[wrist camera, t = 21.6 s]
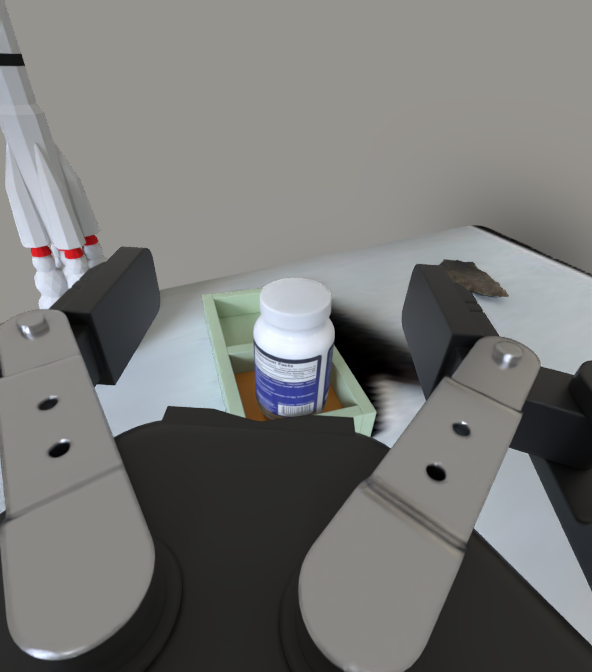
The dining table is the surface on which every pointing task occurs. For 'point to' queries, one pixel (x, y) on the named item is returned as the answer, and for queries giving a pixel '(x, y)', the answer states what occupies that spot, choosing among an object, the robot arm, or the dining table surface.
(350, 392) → the holder
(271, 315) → the pill bottle
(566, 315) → the dining table surface
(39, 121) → the rocket model
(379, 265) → the dining table surface
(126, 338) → the robot arm
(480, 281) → the arrowhead
